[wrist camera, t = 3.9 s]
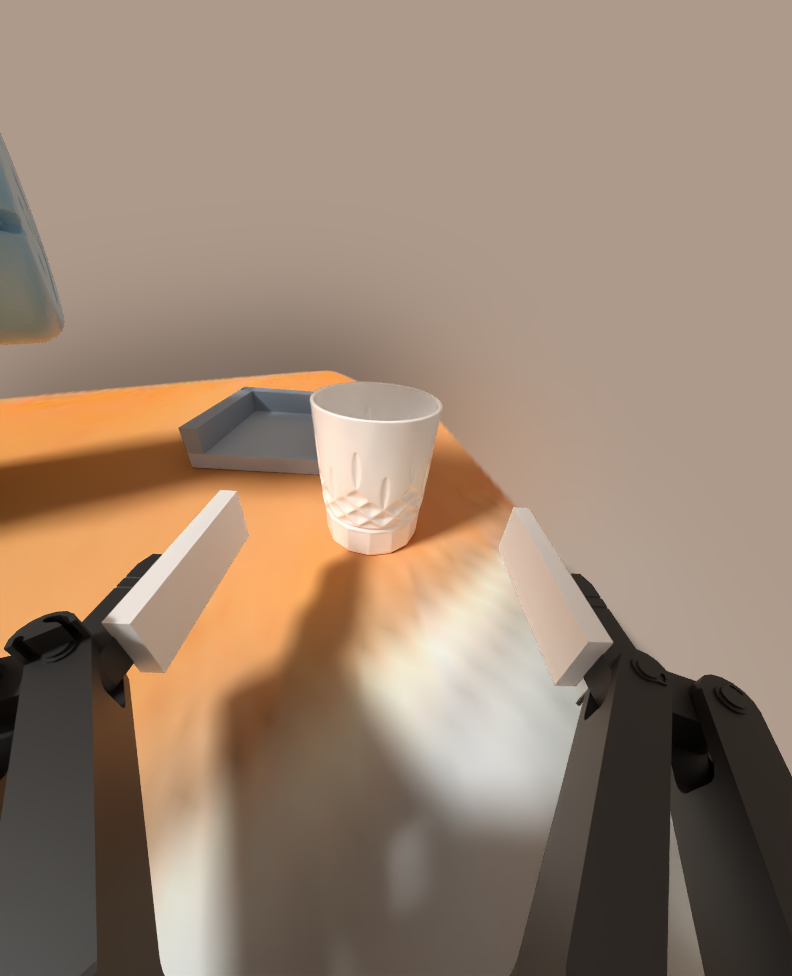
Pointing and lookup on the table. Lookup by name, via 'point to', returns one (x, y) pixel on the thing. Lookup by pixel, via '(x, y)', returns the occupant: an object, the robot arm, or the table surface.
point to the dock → (255, 433)
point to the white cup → (373, 460)
